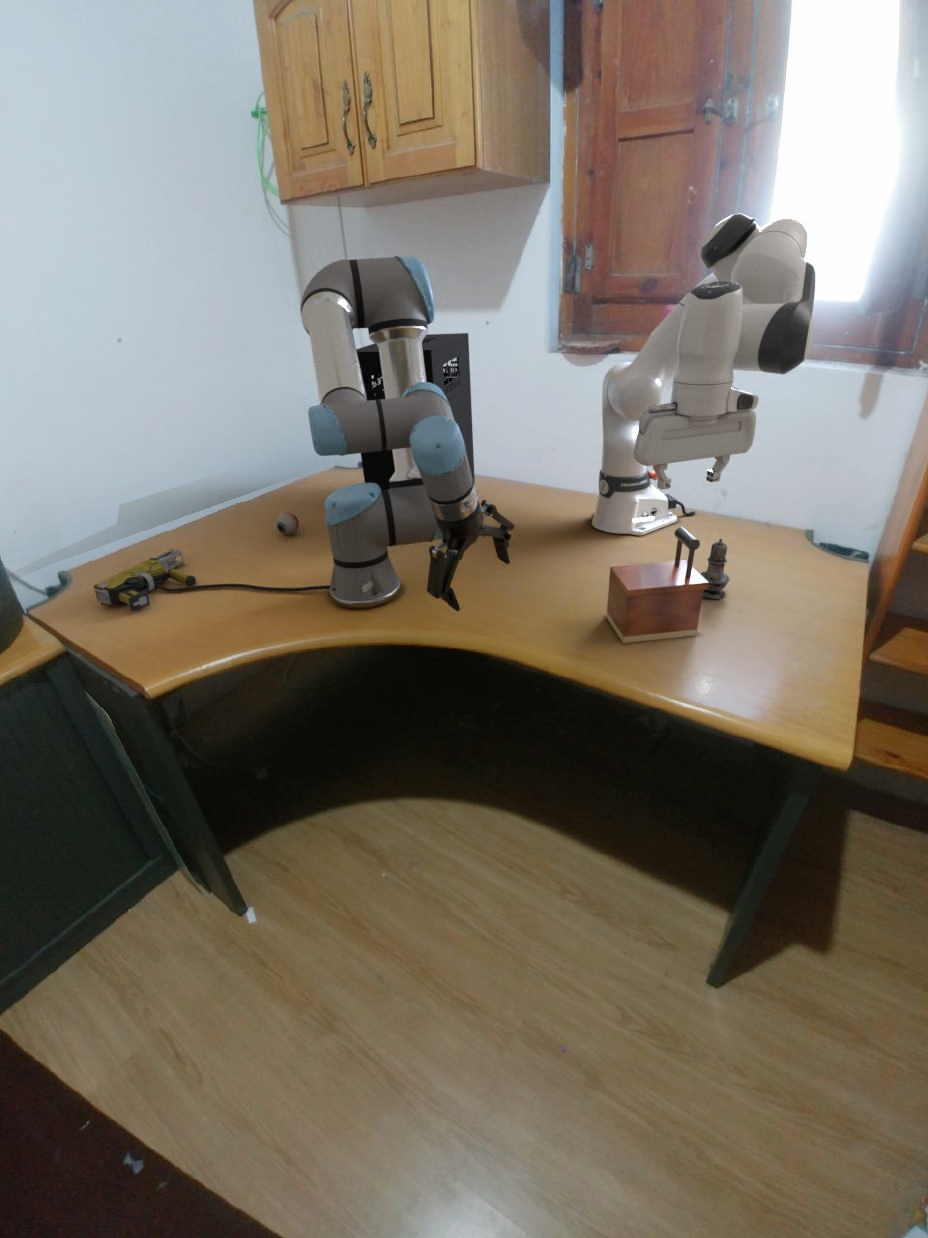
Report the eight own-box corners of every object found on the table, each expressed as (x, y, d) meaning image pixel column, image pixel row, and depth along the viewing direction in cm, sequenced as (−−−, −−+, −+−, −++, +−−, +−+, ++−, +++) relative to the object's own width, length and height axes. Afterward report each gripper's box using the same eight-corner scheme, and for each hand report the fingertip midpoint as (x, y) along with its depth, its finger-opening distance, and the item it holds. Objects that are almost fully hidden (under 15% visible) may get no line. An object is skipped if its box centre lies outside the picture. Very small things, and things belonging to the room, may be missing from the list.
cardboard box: (444, 537, 157) (431, 349, 135) (371, 534, 162) (346, 352, 139) (475, 491, 189) (468, 332, 166) (413, 489, 193) (398, 335, 171)
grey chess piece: (729, 600, 121) (739, 544, 115) (698, 598, 122) (707, 543, 116) (724, 586, 126) (734, 533, 120) (694, 585, 127) (703, 532, 121)
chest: (674, 609, 119) (680, 566, 114) (696, 635, 111) (704, 589, 106) (606, 616, 118) (609, 573, 113) (623, 643, 110) (627, 597, 105)
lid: (684, 565, 114) (690, 521, 110) (707, 588, 106) (715, 542, 102) (609, 573, 113) (613, 528, 109) (627, 596, 105) (632, 550, 101)
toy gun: (219, 557, 146) (169, 546, 150) (142, 598, 126) (87, 585, 129) (222, 574, 148) (172, 563, 152) (147, 618, 128) (92, 604, 132)
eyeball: (273, 537, 164) (268, 516, 161) (287, 528, 169) (282, 508, 166) (291, 539, 161) (286, 518, 158) (305, 530, 166) (301, 510, 163)
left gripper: (415, 567, 92) (446, 638, 109) (525, 469, 98) (537, 550, 116) (384, 544, 96) (419, 616, 113) (492, 451, 102) (509, 533, 120)
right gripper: (651, 409, 91) (642, 498, 98) (768, 396, 95) (751, 482, 102) (630, 402, 96) (623, 487, 103) (742, 390, 100) (728, 472, 107)
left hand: (479, 583), depth 114 cm, fingers open, 13 cm apart
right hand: (688, 484), depth 102 cm, fingers open, 8 cm apart
